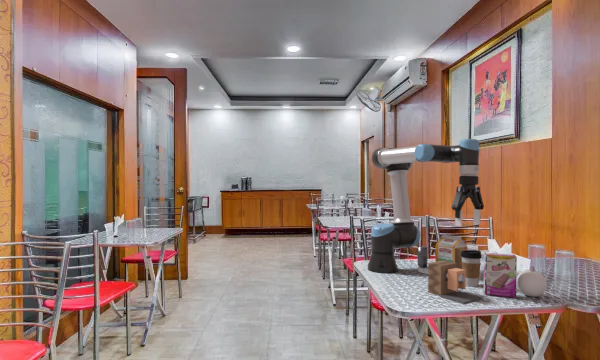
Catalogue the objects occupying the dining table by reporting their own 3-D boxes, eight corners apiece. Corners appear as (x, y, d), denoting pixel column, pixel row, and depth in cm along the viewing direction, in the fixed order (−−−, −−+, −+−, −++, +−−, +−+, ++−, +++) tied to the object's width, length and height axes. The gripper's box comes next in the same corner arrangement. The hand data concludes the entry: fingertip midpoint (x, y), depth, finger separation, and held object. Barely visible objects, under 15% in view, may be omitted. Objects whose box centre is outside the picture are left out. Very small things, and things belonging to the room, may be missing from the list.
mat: (440, 296, 143) (440, 295, 143) (459, 292, 149) (459, 290, 149) (463, 304, 134) (463, 302, 134) (482, 298, 140) (482, 297, 140)
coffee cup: (484, 288, 156) (484, 252, 156) (462, 286, 157) (463, 252, 158) (478, 283, 164) (478, 249, 164) (458, 281, 166) (458, 248, 166)
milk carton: (467, 275, 179) (467, 236, 179) (454, 277, 173) (454, 237, 173) (448, 270, 188) (448, 233, 188) (435, 273, 182) (435, 235, 182)
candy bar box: (485, 295, 145) (485, 254, 146) (483, 292, 150) (483, 252, 150) (517, 298, 142) (517, 256, 142) (514, 294, 146) (514, 253, 147)
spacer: (447, 288, 144) (447, 269, 144) (456, 286, 146) (456, 267, 147) (456, 291, 140) (456, 271, 140) (465, 289, 143) (465, 270, 143)
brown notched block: (428, 292, 149) (428, 262, 149) (443, 288, 154) (443, 260, 154) (440, 296, 144) (440, 265, 144) (456, 292, 149) (456, 263, 149)
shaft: (415, 272, 158) (415, 246, 158) (421, 271, 160) (421, 246, 160) (459, 283, 140) (459, 254, 140) (465, 282, 142) (465, 253, 142)
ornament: (547, 301, 138) (547, 269, 138) (515, 297, 144) (515, 266, 144) (546, 294, 147) (546, 265, 147) (516, 290, 152) (516, 262, 152)
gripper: (459, 174, 146) (458, 227, 146) (493, 176, 160) (492, 224, 160) (443, 174, 152) (442, 225, 152) (476, 176, 166) (475, 222, 166)
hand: (467, 225), depth 156 cm, fingers open, 13 cm apart
